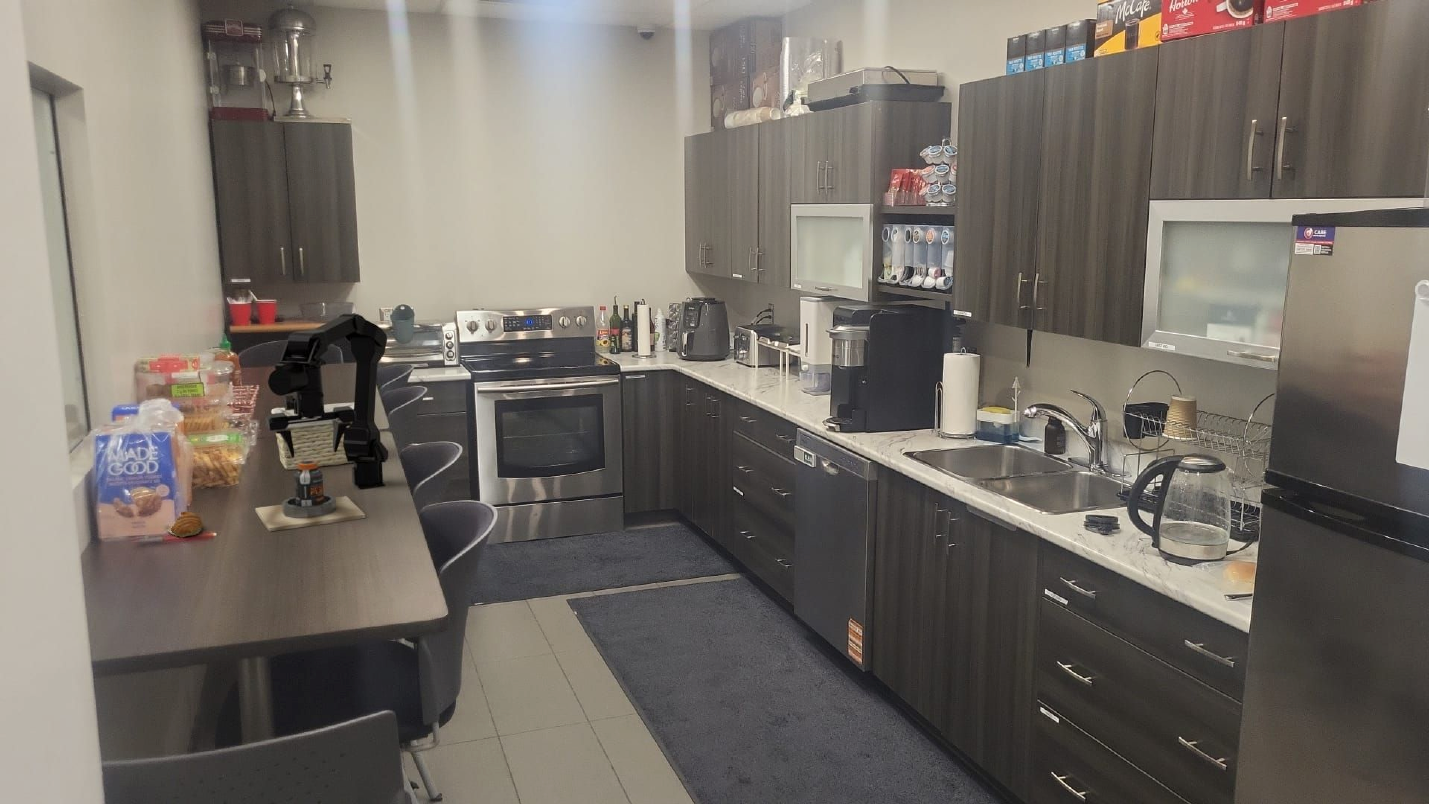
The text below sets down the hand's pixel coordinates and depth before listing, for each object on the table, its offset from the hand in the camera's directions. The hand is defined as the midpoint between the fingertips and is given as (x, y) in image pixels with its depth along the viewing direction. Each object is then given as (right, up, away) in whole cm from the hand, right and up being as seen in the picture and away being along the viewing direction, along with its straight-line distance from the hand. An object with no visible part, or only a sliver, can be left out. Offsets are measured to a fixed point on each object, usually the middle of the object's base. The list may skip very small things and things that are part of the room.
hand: (314, 454), depth 237 cm
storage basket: (-16, -4, +48) cm, 51 cm away
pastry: (-21, -16, -16) cm, 31 cm away
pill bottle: (0, -13, -3) cm, 13 cm away
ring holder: (0, -13, -3) cm, 14 cm away
